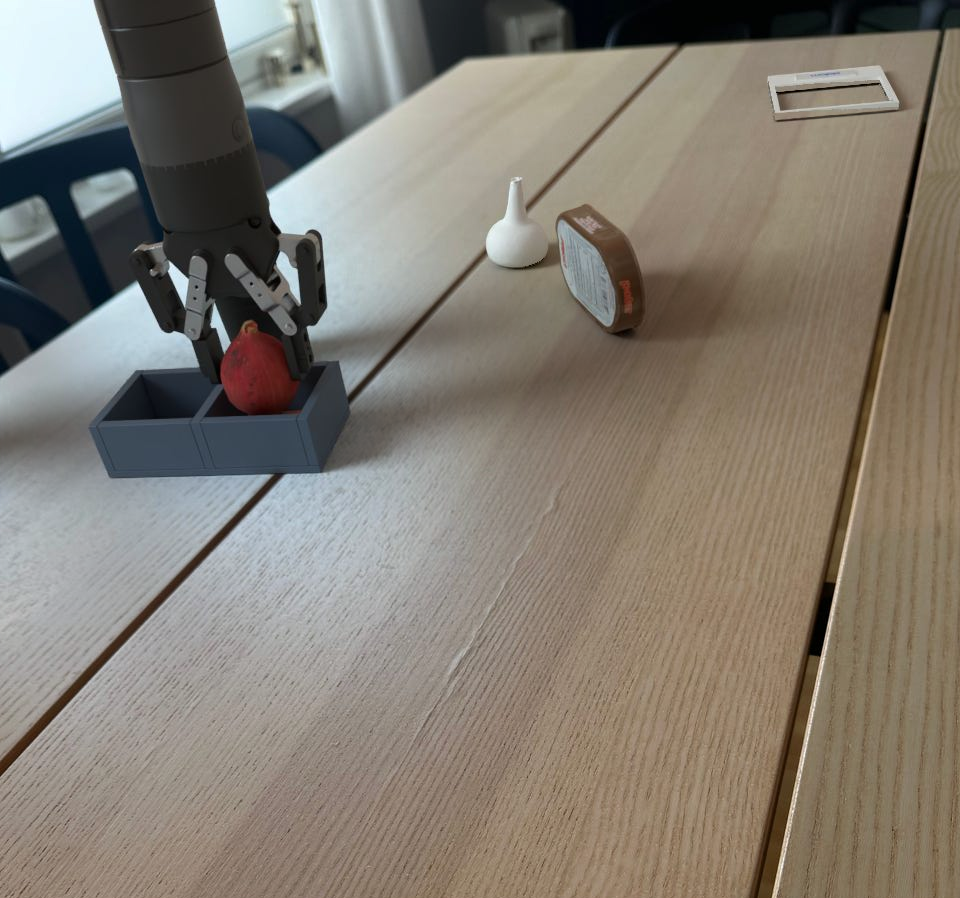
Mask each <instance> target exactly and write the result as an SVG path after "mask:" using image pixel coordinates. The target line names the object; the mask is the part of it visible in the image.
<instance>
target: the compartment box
mask: <svg viewBox="0 0 960 898" xmlns="http://www.w3.org/2000/svg"><path fill="white" fill-rule="evenodd" d="M350 414H351V407H350V404H349V400H348V396H347V390H346V387H345V381H344V377H343V374H342V369H341V365H340V360H323V361H320V360H319V361H314V362H313V365H312V367H311V369H310V371H309V372H308V374H307V376H306V377H305V379H304V381H300V382H299V386H298V390H297V394H296V396H295V397H294V399H293V400H292V402H291V403H290V404H289V405H288V406H287V407H286V408H285V410H284V411H283V412H282V414H281V415H258V416H251V415H249V414H247V413H245V412H243V411H241V410H239V409H237V408H236V407H235V406H234V405H233V404H232V403H231V402H230V401H229V399H228V396H227V394H226V392H225V390H224V387H223V385H222V384H218V385H212V384H211V382H210V379H209V377H207V378H205V376H204V375H203V374H202V372H201V370H200V367H199V366H198V367H177V368H176V367H175V368H173V367H172V368H155V369H136V370H134V372H133V373H132V374H131V376H130V377H129V378H128V379H127V380H126V381H125V382H124V384H123V385H122V386H121V387H120V388H119V390H117V392H116V393H115V394H114V395H113V396H112V397H111V399H110V400H109V401H108V402H107V403H106V404H105V406H104V407H103V408H102V409H101V411H100V412H99V413H98V414H97V415H96V417H94V419H93V420H92V421H90V422H91V423H89V424H88V426H87V429H88V431H89V433H90V436H91V437H92V439H93V443H94V445H95V447H96V449H97V452H98V454H99V456H100V459H101V461H102V464H103V466H104V468H105V471H106V473H107V476H108V478H110V479H114V478H115V479H116V478H119V479H121V478H153V477H154V478H156V477H195V476H199V477H200V476H233V475H236V476H238V475H239V476H240V475H270V474H273V475H274V474H313V473H322V472H323V469H324V468H325V465H326V464H327V461H328V459H329V457H330V455H331V453H332V451H333V449H334V446H335V444H336V443H337V440H338V438H339V437H340V435H341V433H342V430H343V428H344V426H345V424H346V422H347V420H348V419H349V416H350Z"/></svg>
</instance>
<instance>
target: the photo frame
mask: <svg viewBox="0 0 960 898" xmlns="http://www.w3.org/2000/svg"><path fill="white" fill-rule="evenodd" d="M865 80H866V81H867V80H880V82H881V84H882V86H883V88H884V90H885V92H886V94H887V96H888V98H889V100H890V101H888V100H885V101H874V102H864V103H852V104H842V105H829V106H819V107H807V108H797V109H787V110H786V109H785V110H781V107H780V102H779V99H778V98H779V97H778V93H776V89H775V87H782V86H783V87H784V86H793V85H794V86H795V85H803V84H814V83H830V82H854V81H865ZM768 81H769V86H770V91H771V96H772V101H773V105H774V110H775V113H785V112H786V113H787V112H799V111H811V110H812V111H813V110H832V109H835V110H836V109H841V110H844V109H847V110H848V109H862V108H879V107H880V108H882V107H883V108H884V107H898V108H899V106H900V101H899V99H898V97H897V95H896V93H895V91H894V89H893V87H892V85H891V84H890V82H889V79H888V78H887V76H886V74H885V72H884V70H883V68H882V67H881V65H879V64H878V65H869V66H859V67H848V68H838V69H836V68H835V69H827V70H817V71H807V72H805V71H804V72H794V73H787V74H786V73H785V74H775V75H774V74H773V75H768V76H767V82H768ZM892 100H893V101H892Z"/></svg>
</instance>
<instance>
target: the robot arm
mask: <svg viewBox="0 0 960 898" xmlns="http://www.w3.org/2000/svg"><path fill="white" fill-rule="evenodd" d="M92 1H93V4H94V5H93V6H94V8H95V12H96V15H97V19H98V22H99V25H100V27H101V29H100V30H101V31H102V34H103V38H104V41H105V44H106V47H107V50H108V54H109V57H110V60H111V64H112V66H113V70H114V73H115V75H116V79H117V84H118V86H119V93H120V96H121V103H122V108H123V112H124V117H125V120H126V124H127V127H128V130H129V136H130V141H131V144H132V147H133V148H134V149H135V152H136V156H137V159H138V162H139V165H140V169H141V171H142V174H143V178H144V181H145V183H146V187H147V190H148V194H149V197H150V200H151V203H152V206H153V210H154V213H155V216H156V219H157V221H158V224H159V225H161V228H162V230H163V239H162V241H160V242H157V243H154V242H153V241H151V240H145V241H143V242H142V243H141V244H139V245H138V246H137V247H136V248H135V249H134V250H133V251H132V252H131V253H130V254H129V256H128V258H127V262H128V265H129V267H130V269H131V271H132V273H133V275H134V277H135V280H136V282H137V283H138V285H139V287H140V290H141V291H142V293H143V295H144V298H145V300H146V302H147V303H148V306H149V308H150V310H151V312H152V314H153V317H154V319H155V320H156V322H157V325H158V327H159V328H160V330H161V331H162V332H164V333H165V334H172V333H175V332H176V333H178V334H182V335H185V337H186V338H187V339H188V340H190V342H191V345H192V348H193V351H194V354H195V357H196V359H197V360H196V361H197V363H198V367H200V370H201V372H202V374H203V375H204V376H205V378H207V377H209V379H210V382H211V384H212V385H218V384H222V381H221V375H220V370H221V363H222V359H223V356H224V354H225V352H224V348H223V346H222V341H221V339H220V336H219V332H218V329H217V327H212V320H213V312H214V309H215V308H214V307H215V303H214V302H215V299H223V298H225V297H228V296H236V297H241V298H247V297H252V298H253V299H254V300H255V302H256V303H257V304H258V306H259V307H260V308H261V310H262V311H264V312H267V313H269V315H270V316H271V317H272V319H273V320H274V321H275V323H276V324H277V325H278V327H279V328H280V329H281V331H282V332H283V335H282V336H281V338H282V342H283V346H284V350H285V354H286V358H287V361H288V365H289V369H290V373H291V377H292V380H293V381H304V379H305V377H306V376H307V374H308V372H309V371H310V369H311V367H312V365H313V362H315V357H314V356H315V355H314V352H313V348H312V344H311V340H310V339H311V338H310V336H309V331H308V327H314V326H316V325H317V324H318V323H319V322H320V320H321V318H322V317H323V315H324V313H326V310H327V309H328V295H327V282H326V270H325V268H326V267H325V259H324V257H325V256H324V245H323V236H322V234H321V232H319V231H318V230H317V229H313V228H310V229H308V230H307V231H306V232H305V234H297V233H285V232H282V230H281V229H280V228H279V226H278V225H277V224H276V222H275V221H274V219H273V216H272V214H271V211H270V206H269V203H268V199H269V197H268V195H267V189H266V186H265V183H264V178H263V174H262V170H261V166H260V162H259V158H258V153H257V149H256V145H255V143H254V137H253V133H252V128H251V125H250V121H249V117H248V114H247V113H248V112H247V109H246V105H245V101H244V97H243V93H242V89H241V88H240V84H239V81H238V79H237V77H236V74H235V72H234V68H233V66H232V63H231V59H230V56H229V54H228V49H227V45H226V41H225V37H224V33H223V30H222V25H221V19H220V17H219V13H218V9H217V5H216V0H92ZM267 197H268V198H267ZM281 253H283V254H284V255H285V256H286V257H287V259H288V262H289V264H290V266H291V267H292V268H293V269H296V271H297V280H298V290H299V300H298V299H297V297H296V296H295V295H294V294H293V292H292V290H291V285H290V283H289V281H288V280H287V279H286V277H285V276H284V274H283V273H282V272H281V270H280V269H279V267H278V265H277V266H276V265H275V263H276V264H277V261H278V259H279V256H280V254H281ZM170 263H171V264H172V265H173V266H174V267H175V268H176V269H177V270H178V271H179V272H180V273H181V274H182V275H183V276H184V277H185V278H187V280H188V283H187V290H186V298H185V304H184V303H183V301H182V298H181V296H180V294H179V292H178V290H177V288H176V285H175V283H174V281H173V279H172V277H171V274H170V272H169V270H170V267H171V265H170ZM266 283H267V285H268V287H269V288H268V287H267V286H266ZM299 301H300V302H299Z"/></svg>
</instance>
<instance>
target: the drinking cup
mask: <svg viewBox="0 0 960 898" xmlns="http://www.w3.org/2000/svg"><path fill="white" fill-rule="evenodd" d="M267 198H268V203H269V207H271V203H270V199H269V197H268V196H267ZM275 265H276V266H277V267H278V264H277V262H276V263H275ZM266 286H267V287H268V285H267V283H266ZM268 288H269V287H268ZM214 306H215V308H216V310H217V313H218V315H219V318H220V320H221V322H222V325H223V327H224V330H225V333H226V335H227V337H228V341H229V344H230V343H231V342H232V341H233V340H234V339H235V338H236V337H237V336H238V334H239V332H240V330H241V327H242V325H243V324H244V322H246V321H249V320H253V321H254V322H256V323H257V325H258V331H260V332H262V333H266V334H268V335H271V336H273V337H274V338H276V339H278V340H279V341H280V342H282V338H281V336H282V335H283V332H282V331H281V329H280V328H279V327H278V325H277V324H276V323H275V321H274V320H273V319H272V317H271V316H270V315H269V313H267V312H264V311H262V310H261V308H260V307H259V306H258V304H257V303H256V302H255V300H254V299H253V298H252V297H247V298H241V297H236V296H228V297H225V298H223V299H215V302H214ZM282 343H283V342H282Z"/></svg>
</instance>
